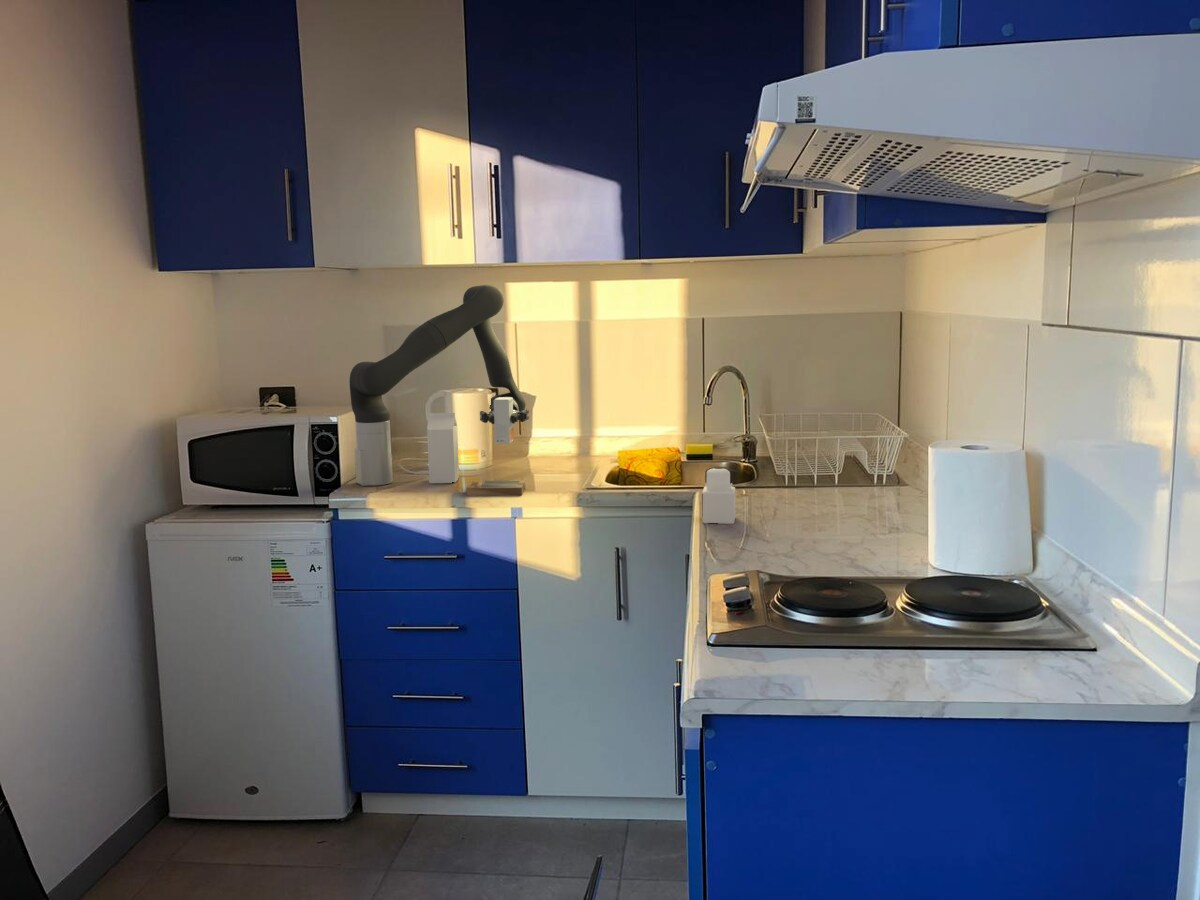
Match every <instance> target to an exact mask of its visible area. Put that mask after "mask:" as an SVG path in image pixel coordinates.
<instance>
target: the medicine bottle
mask: <svg viewBox="0 0 1200 900" xmlns="http://www.w3.org/2000/svg"><path fill="white" fill-rule="evenodd" d="M704 472H705V473H704V475H705V476H704V478H705V479H704V480H705V481H704V483H705V485H704V486H703V490H702V491H701V523H702V522H704V523H703V524H708V523H718V525H719V524H721V525H734V524H735V521H736V487H735V486H733V470H732V469H731V468H729V467H726V466H712V467H709V468H707V469H706V470H705V471H704Z"/></svg>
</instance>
